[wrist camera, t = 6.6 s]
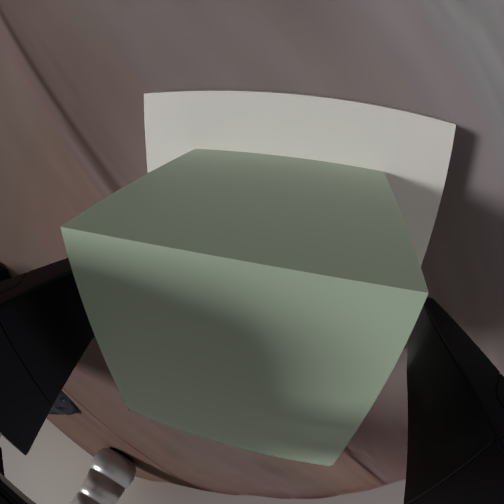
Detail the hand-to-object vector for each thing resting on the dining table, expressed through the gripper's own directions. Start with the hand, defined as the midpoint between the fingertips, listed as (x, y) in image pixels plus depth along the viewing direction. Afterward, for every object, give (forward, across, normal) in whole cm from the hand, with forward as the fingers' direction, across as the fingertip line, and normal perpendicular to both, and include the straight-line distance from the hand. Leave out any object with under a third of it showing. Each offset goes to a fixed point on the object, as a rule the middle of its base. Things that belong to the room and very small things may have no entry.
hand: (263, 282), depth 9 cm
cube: (+2, 0, 0) cm, 2 cm away
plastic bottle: (+4, +20, +40) cm, 45 cm away
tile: (+4, 0, 0) cm, 4 cm away
